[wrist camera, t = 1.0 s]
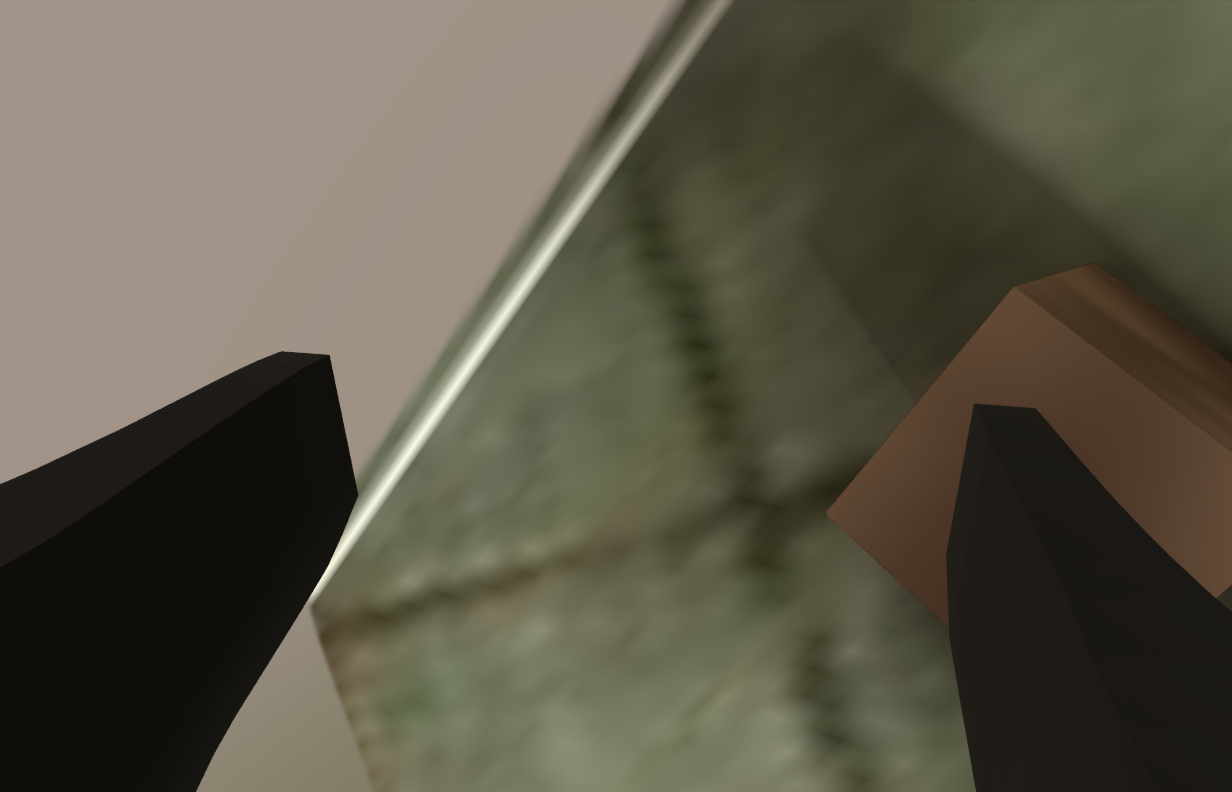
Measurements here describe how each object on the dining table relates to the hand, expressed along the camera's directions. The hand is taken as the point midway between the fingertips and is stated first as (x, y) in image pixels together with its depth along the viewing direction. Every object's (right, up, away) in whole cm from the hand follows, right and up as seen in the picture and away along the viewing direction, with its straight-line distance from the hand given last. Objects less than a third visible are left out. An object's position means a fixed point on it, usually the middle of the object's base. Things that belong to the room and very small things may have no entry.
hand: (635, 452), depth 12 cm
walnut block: (+9, 0, +8) cm, 12 cm away
